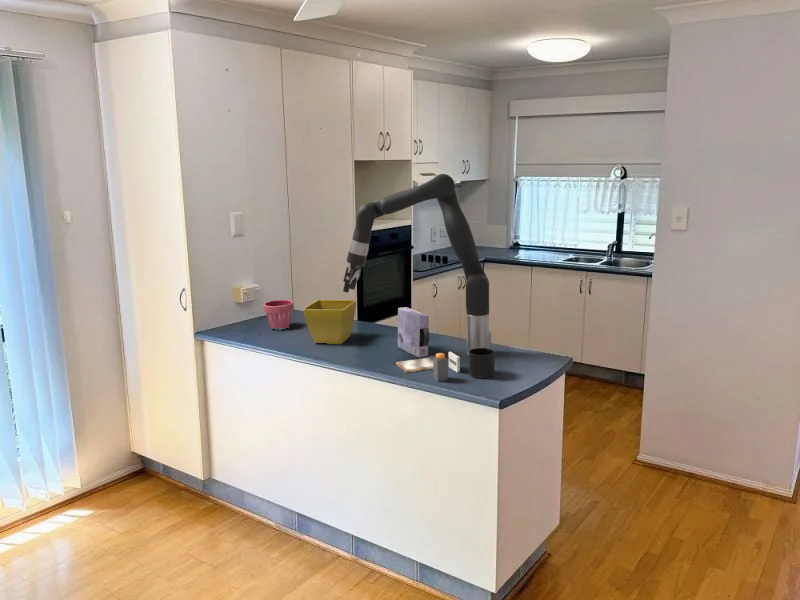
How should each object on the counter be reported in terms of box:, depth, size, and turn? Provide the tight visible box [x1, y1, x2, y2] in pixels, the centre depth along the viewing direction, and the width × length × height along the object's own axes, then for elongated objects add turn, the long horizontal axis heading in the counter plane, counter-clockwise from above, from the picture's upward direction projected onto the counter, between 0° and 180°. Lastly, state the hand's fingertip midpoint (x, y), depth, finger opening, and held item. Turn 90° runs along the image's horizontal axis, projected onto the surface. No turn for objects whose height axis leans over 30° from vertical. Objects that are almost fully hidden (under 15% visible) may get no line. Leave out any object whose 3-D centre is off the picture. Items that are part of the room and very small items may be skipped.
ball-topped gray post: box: [432, 352, 449, 383], centre depth 237 cm, size 4×4×10 cm
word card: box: [448, 351, 461, 374], centre depth 248 cm, size 1×8×6 cm, turn 19°
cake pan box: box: [397, 306, 430, 359], centre depth 271 cm, size 19×5×18 cm, turn 30°
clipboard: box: [395, 355, 436, 374], centre depth 254 cm, size 16×12×2 cm
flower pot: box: [302, 299, 357, 345], centre depth 292 cm, size 19×19×17 cm
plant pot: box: [263, 299, 295, 329], centre depth 318 cm, size 14×14×13 cm
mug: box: [468, 348, 496, 380], centre depth 242 cm, size 9×12×9 cm
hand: (348, 290), depth 265 cm, fingers open, 8 cm apart
